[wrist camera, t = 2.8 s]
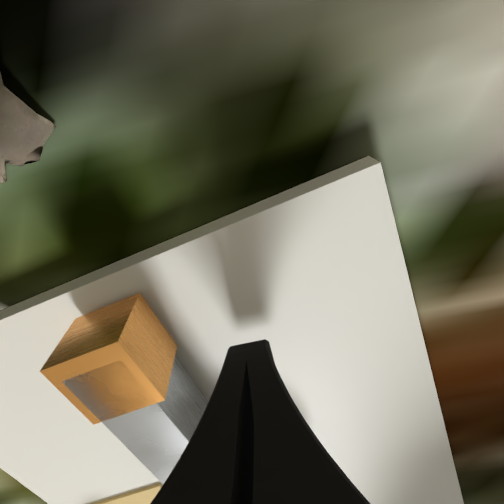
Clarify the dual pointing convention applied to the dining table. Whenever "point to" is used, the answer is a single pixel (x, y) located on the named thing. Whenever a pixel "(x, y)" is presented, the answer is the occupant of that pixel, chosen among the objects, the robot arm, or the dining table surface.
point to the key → (129, 381)
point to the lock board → (249, 330)
